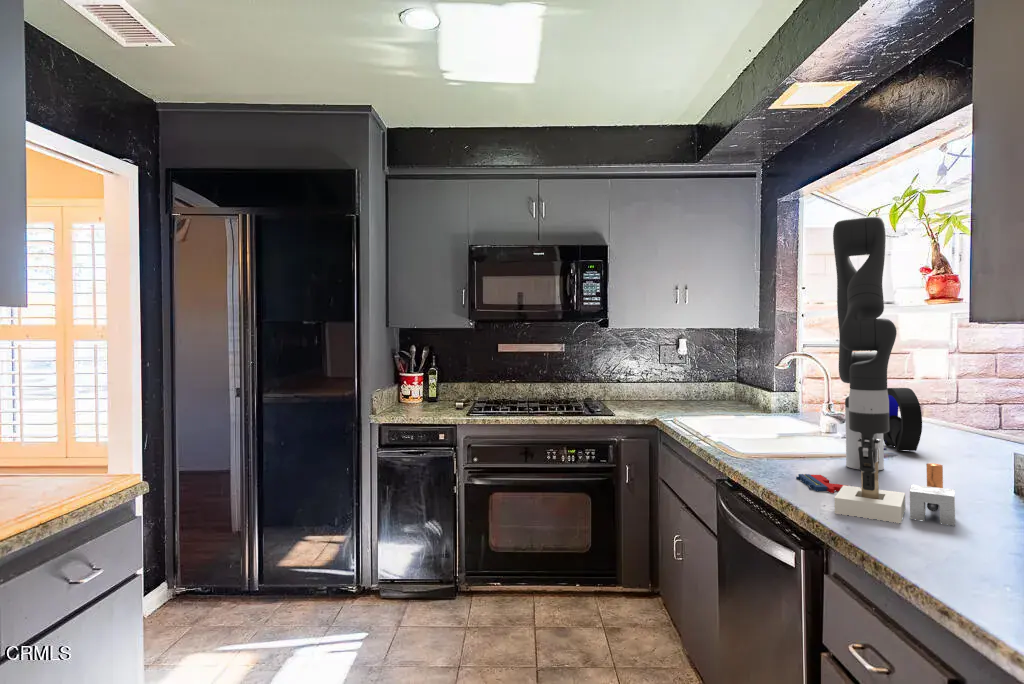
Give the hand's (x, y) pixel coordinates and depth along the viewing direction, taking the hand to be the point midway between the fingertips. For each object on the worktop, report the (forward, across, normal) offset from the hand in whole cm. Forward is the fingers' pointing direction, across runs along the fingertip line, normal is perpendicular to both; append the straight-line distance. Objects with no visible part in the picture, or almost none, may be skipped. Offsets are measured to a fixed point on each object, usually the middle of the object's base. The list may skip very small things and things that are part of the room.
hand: (869, 487), depth 126 cm
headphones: (+5, +77, 0) cm, 77 cm away
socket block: (+5, 0, 0) cm, 5 cm away
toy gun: (+6, +18, +12) cm, 22 cm away
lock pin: (+5, +10, -11) cm, 16 cm away
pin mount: (+5, +1, -11) cm, 12 cm away
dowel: (+3, 0, 0) cm, 3 cm away
